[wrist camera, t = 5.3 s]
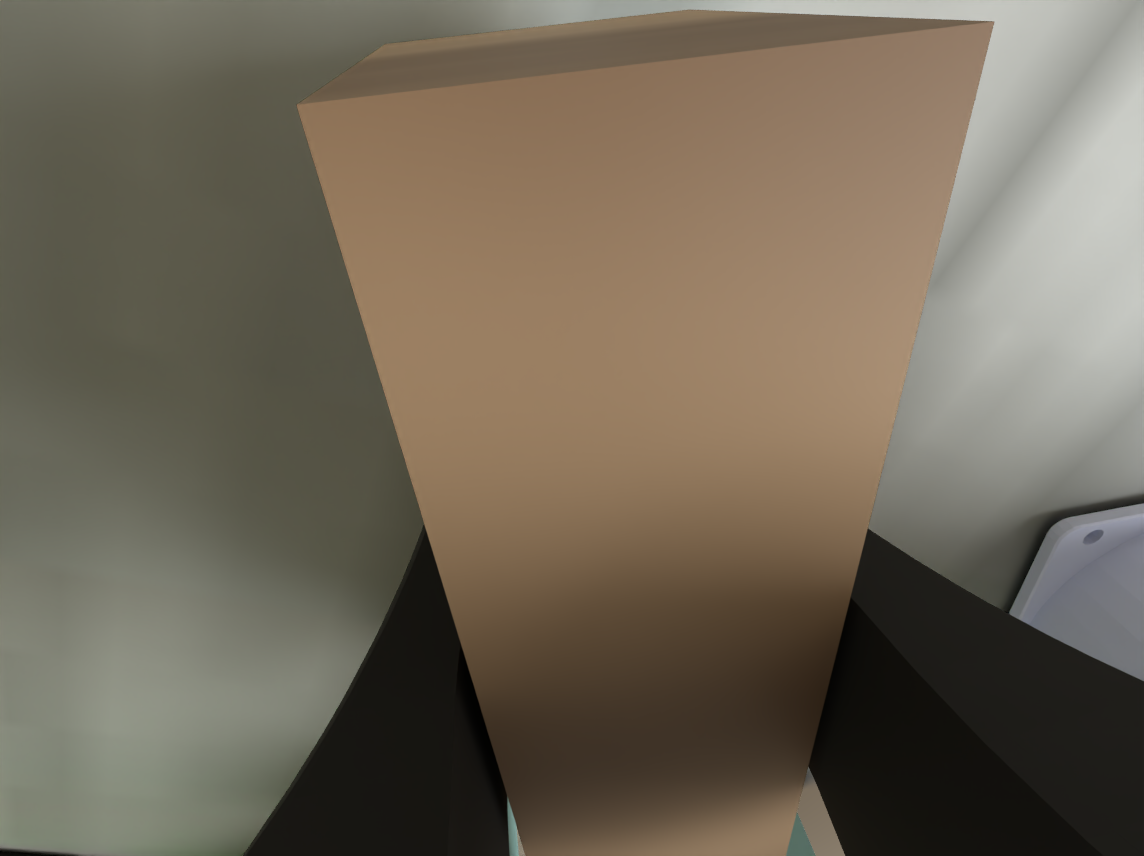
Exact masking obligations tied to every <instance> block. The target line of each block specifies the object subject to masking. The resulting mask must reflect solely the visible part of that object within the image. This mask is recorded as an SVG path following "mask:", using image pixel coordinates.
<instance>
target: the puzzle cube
mask: <svg viewBox="0 0 1144 856" xmlns="http://www.w3.org/2000/svg"><path fill="white" fill-rule="evenodd" d="M0 856H54V855H41V854H28V853H15V852H2V851H0Z"/></svg>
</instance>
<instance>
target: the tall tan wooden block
mask: <svg viewBox="0 0 1144 856" xmlns="http://www.w3.org/2000/svg"><path fill="white" fill-rule="evenodd" d="M993 25H994V22H992V21H966V20H941V19H915V18H889V17H863V16H837V15H812V14H786V13H760V12H734V11H708V10H682V11H674V12H665V13H656V14H647V15H638V16H629V17H620V18H611V19H603V20H594V21H585V22H576V23H567V24H558V25H549V26H541V27H532V28H523V29H514V30H505V31H496V32H487V33H478V34H470V35H461V36H452V37H443V38H434V39H425V40H416V41H408V42H399V43H390V44H384V45H383V46H382V47H380V48H379V49H377V50H376V51H374V52H373V53H371V54H370V55H368V56H367V57H365V58H364V59H363V60H361V61H360V62H358V63H357V64H355V65H354V66H352V67H351V68H349V69H348V70H346V71H345V72H344V73H342V74H341V75H339V76H338V77H336V78H335V79H333V80H332V81H330V82H329V83H327V84H326V85H325V86H323V87H322V88H320V89H319V90H317V91H316V92H314V93H313V94H311V95H310V96H308V97H307V98H305V99H304V100H303V101H301V102H300V103H298V104H297V105H296V106H297V109H298V112H299V115H300V119H301V122H302V125H303V128H304V132H305V135H306V138H307V142H308V145H309V148H310V151H311V155H312V158H313V161H314V164H315V168H316V171H317V174H318V178H319V181H320V184H321V187H322V191H323V194H324V197H325V200H326V204H327V207H328V210H329V214H330V217H331V220H332V223H333V227H334V230H335V233H336V236H337V240H338V243H339V246H340V250H341V253H342V256H343V259H344V263H345V266H346V269H347V272H348V276H349V279H350V282H351V286H352V289H353V292H354V295H355V299H356V302H357V305H358V308H359V312H360V315H361V318H362V322H363V325H364V328H365V331H366V335H367V338H368V341H369V345H370V348H371V351H372V354H373V358H374V361H375V364H376V367H377V371H378V374H379V377H380V381H381V384H382V387H383V390H384V394H385V397H386V400H387V403H388V407H389V410H390V413H391V417H392V420H393V423H394V426H395V430H396V433H397V436H398V439H399V443H400V446H401V449H402V453H403V456H404V459H405V462H406V466H407V469H408V472H409V475H410V479H411V482H412V485H413V489H414V492H415V495H416V498H417V502H418V505H419V508H420V511H421V515H422V518H423V521H424V525H425V528H426V531H427V534H428V538H429V541H430V544H431V547H432V551H433V554H434V557H435V561H436V564H437V567H438V570H439V574H440V577H441V580H442V583H443V587H444V590H445V593H446V597H447V600H448V603H449V606H450V610H451V613H452V616H453V619H454V623H455V626H456V629H457V633H458V636H459V639H460V642H461V646H462V649H463V652H464V655H465V659H466V662H467V665H468V669H469V672H470V675H471V678H472V682H473V685H474V688H475V691H476V695H477V698H478V701H479V705H480V708H481V711H482V714H483V718H484V721H485V724H486V727H487V731H488V734H489V737H490V741H491V744H492V747H493V750H494V754H495V757H496V760H497V763H498V767H499V770H500V773H501V777H502V780H503V783H504V786H505V790H506V793H507V796H508V799H509V803H510V806H511V809H512V813H513V816H514V819H515V822H516V826H517V829H518V832H519V835H520V839H521V842H522V845H523V849H524V852H525V855H526V856H786V853H787V849H788V845H789V841H790V837H791V833H792V829H793V825H794V821H795V817H796V813H797V809H798V805H799V801H800V797H801V793H802V789H803V785H804V781H805V777H806V773H807V769H808V765H809V761H810V757H811V753H812V749H813V745H814V741H815V737H816V733H817V729H818V725H819V721H820V717H821V713H822V709H823V705H824V701H825V697H826V693H827V689H828V685H829V681H830V677H831V673H832V669H833V665H834V661H835V657H836V653H837V649H838V645H839V641H840V637H841V633H842V629H843V625H844V621H845V617H846V613H847V609H848V605H849V601H850V597H851V593H852V589H853V585H854V581H855V577H856V573H857V569H858V565H859V561H860V557H861V553H862V549H863V545H864V541H865V537H866V533H867V529H868V525H869V521H870V517H871V513H872V509H873V505H874V501H875V497H876V493H877V489H878V485H879V481H880V477H881V473H882V469H883V465H884V461H885V457H886V453H887V449H888V445H889V441H890V437H891V433H892V429H893V425H894V421H895V417H896V413H897V409H898V405H899V401H900V397H901V393H902V389H903V385H904V381H905V377H906V373H907V369H908V365H909V361H910V357H911V353H912V349H913V345H914V341H915V337H916V333H917V329H918V325H919V321H920V317H921V313H922V309H923V305H924V301H925V297H926V293H927V289H928V285H929V281H930V277H931V273H932V269H933V265H934V261H935V257H936V253H937V249H938V245H939V241H940V237H941V233H942V229H943V225H944V221H945V217H946V213H947V209H948V205H949V201H950V197H951V193H952V189H953V185H954V181H955V177H956V173H957V169H958V165H959V161H960V157H961V153H962V149H963V145H964V141H965V137H966V133H967V129H968V125H969V121H970V117H971V113H972V109H973V105H974V101H975V97H976V93H977V89H978V85H979V81H980V77H981V73H982V69H983V65H984V61H985V57H986V53H987V49H988V45H989V41H990V37H991V33H992V29H993Z"/></svg>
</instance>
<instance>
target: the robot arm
mask: <svg viewBox="0 0 1144 856" xmlns="http://www.w3.org/2000/svg"><path fill="white" fill-rule="evenodd" d="M808 766H809V769H810V771H811V773H812V775H813V777H814V779H815V782H816V784H817V786H818V789H819V791H820V794H821V796H822V799H823V801H824V804H825V806H826V808H827V811H828V814H829V816H830V818H831V821H832V824H833V826H834V829H835V831H836V833H837V836H838V839H839V841H840V844H841V846H842V849H843V851H844V854H845V856H1144V503H1142V504H1137V505H1132V506H1126V507H1121V508H1116V509H1110V510H1105V511H1100V512H1094V513H1089V514H1084V515H1079V516H1073V517H1068V518H1065V519H1062V520H1061V521H1059V522H1057V523H1056V524H1054V525H1053V526H1052V527H1051V528H1050V529H1049V531H1048V532H1047V534H1046V536H1045V538H1044V540H1043V542H1042V545H1041V547H1040V549H1039V551H1038V553H1037V555H1036V557H1035V559H1034V561H1033V563H1032V566H1031V568H1030V570H1029V572H1028V574H1027V576H1026V578H1025V580H1024V582H1023V585H1022V587H1021V589H1020V591H1019V593H1018V595H1017V597H1016V599H1015V601H1014V603H1013V606H1012V608H1011V610H1010V612H1009V614H1008V613H1006V612H1004V611H1002V610H1000V609H999V608H997V607H995V606H993V605H991V604H989V603H987V602H986V601H984V600H982V599H980V598H979V597H977V596H975V595H973V594H972V593H970V592H968V591H966V590H965V589H963V588H961V587H960V586H958V585H956V584H954V583H953V582H951V581H950V580H948V579H946V578H945V577H943V576H941V575H940V574H938V573H937V572H935V571H933V570H932V569H930V568H928V567H927V566H925V565H923V564H922V563H920V562H919V561H917V560H915V559H914V558H912V557H910V556H909V555H907V554H906V553H904V552H903V551H901V550H900V549H898V548H896V547H895V546H893V545H892V544H890V543H889V542H887V541H886V540H884V539H883V538H881V537H880V536H878V535H877V534H875V533H874V532H872V531H871V530H869V529H867V533H866V537H865V541H864V545H863V549H862V553H861V557H860V561H859V565H858V569H857V573H856V577H855V581H854V585H853V589H852V593H851V597H850V601H849V605H848V609H847V613H846V617H845V621H844V625H843V629H842V633H841V637H840V641H839V645H838V649H837V653H836V657H835V661H834V665H833V669H832V673H831V677H830V681H829V685H828V689H827V693H826V697H825V701H824V705H823V709H822V713H821V717H820V721H819V725H818V729H817V733H816V737H815V741H814V745H813V749H812V753H811V757H810V761H809V765H808ZM243 856H510V853H509V834H508V801H507V793H506V790H505V786H504V783H503V780H502V777H501V773H500V770H499V767H498V763H497V760H496V757H495V754H494V750H493V747H492V744H491V741H490V737H489V734H488V731H487V727H486V724H485V721H484V718H483V714H482V711H481V708H480V705H479V701H478V698H477V695H476V691H475V688H474V685H473V682H472V678H471V675H470V672H469V669H468V665H467V662H466V659H465V655H464V652H463V649H462V646H461V642H460V639H459V636H458V633H457V629H456V626H455V623H454V619H453V616H452V613H451V610H450V606H449V603H448V600H447V597H446V593H445V590H444V587H443V583H442V580H441V577H440V574H439V570H438V567H437V564H436V561H435V557H434V554H433V551H432V547H431V544H430V541H429V538H428V534H427V531H426V528H425V525H423V528H422V531H421V534H420V537H419V539H418V542H417V545H416V547H415V550H414V552H413V555H412V558H411V560H410V562H409V565H408V567H407V570H406V572H405V574H404V577H403V579H402V582H401V584H400V586H399V588H398V590H397V592H396V595H395V597H394V599H393V601H392V603H391V606H390V608H389V610H388V612H387V614H386V616H385V619H384V621H383V623H382V625H381V627H380V629H379V631H378V633H377V635H376V637H375V639H374V641H373V643H372V645H371V647H370V649H369V651H368V653H367V655H366V657H365V658H364V660H363V662H362V664H361V666H360V668H359V670H358V672H357V674H356V675H355V677H354V679H353V681H352V683H351V685H350V687H349V689H348V691H347V692H346V694H345V696H344V698H343V700H342V701H341V703H340V705H339V707H338V708H337V710H336V712H335V714H334V715H333V717H332V719H331V720H330V722H329V724H328V726H327V727H326V729H325V731H324V732H323V734H322V736H321V737H320V739H319V741H318V742H317V744H316V746H315V747H314V749H313V750H312V752H311V754H310V755H309V757H308V758H307V760H306V762H305V763H304V765H303V766H302V768H301V770H300V771H299V773H298V774H297V776H296V778H295V779H294V781H293V782H292V784H291V785H290V787H289V788H288V790H287V791H286V793H285V794H284V796H283V797H282V799H281V800H280V802H279V803H278V805H277V806H276V808H275V809H274V811H273V812H272V814H271V815H270V816H269V818H268V819H267V821H266V822H265V824H264V825H263V827H262V828H261V830H260V831H259V833H258V834H257V836H256V837H255V839H254V840H253V842H252V843H251V845H250V846H249V847H248V849H247V850H246V852H245V853H244V855H243Z"/></svg>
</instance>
